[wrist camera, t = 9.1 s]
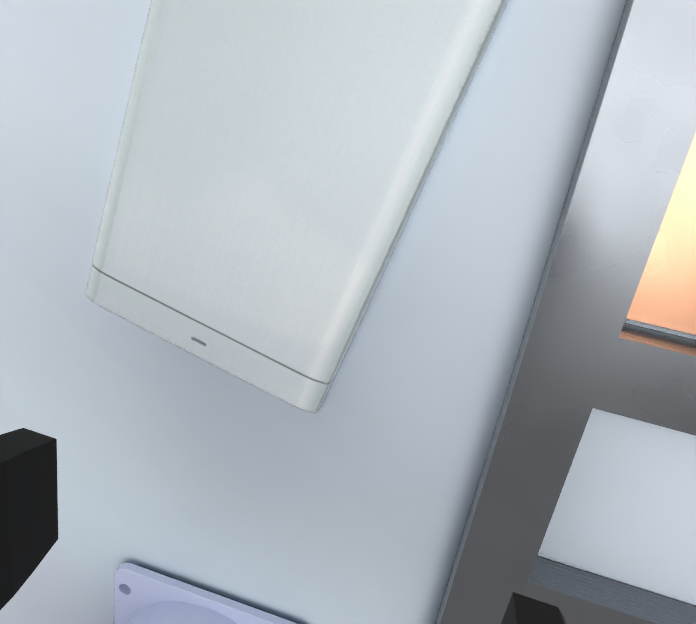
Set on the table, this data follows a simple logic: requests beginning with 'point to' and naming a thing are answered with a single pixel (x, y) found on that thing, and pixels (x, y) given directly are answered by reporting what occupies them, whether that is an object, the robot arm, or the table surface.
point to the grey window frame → (598, 330)
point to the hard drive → (277, 173)
